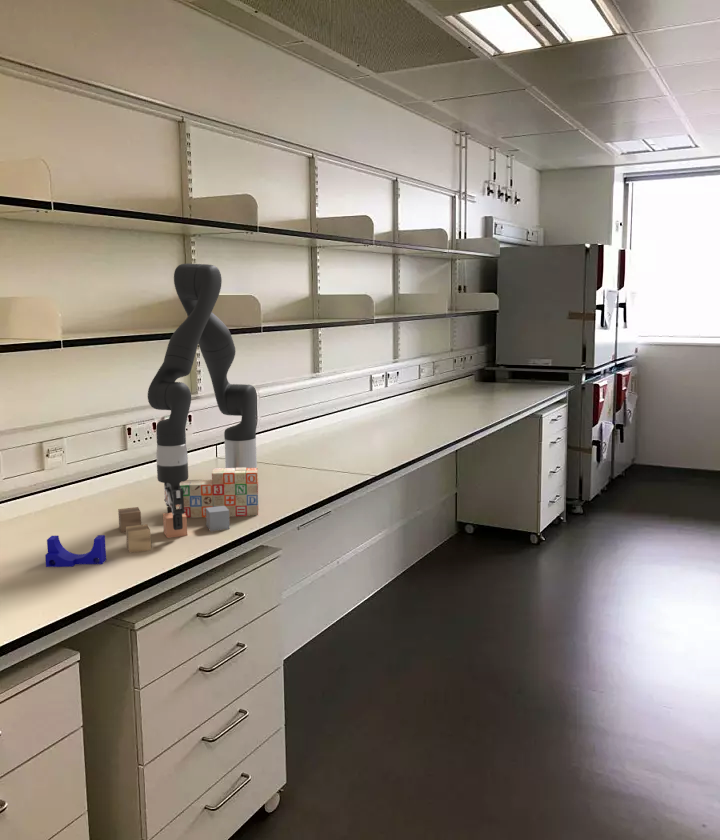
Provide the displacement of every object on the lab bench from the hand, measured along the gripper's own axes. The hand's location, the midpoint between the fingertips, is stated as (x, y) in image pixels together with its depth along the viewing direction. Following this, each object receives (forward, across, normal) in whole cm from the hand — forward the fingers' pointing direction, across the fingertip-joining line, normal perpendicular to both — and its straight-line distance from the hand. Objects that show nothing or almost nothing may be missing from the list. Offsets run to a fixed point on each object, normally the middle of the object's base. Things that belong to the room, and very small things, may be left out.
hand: (175, 524), depth 199 cm
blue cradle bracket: (+3, -13, +24) cm, 28 cm away
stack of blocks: (+3, +14, -14) cm, 20 cm away
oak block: (+3, -8, +10) cm, 13 cm away
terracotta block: (+3, 0, 0) cm, 3 cm away
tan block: (+3, +9, +10) cm, 14 cm away
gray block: (+2, +1, -11) cm, 11 cm away
